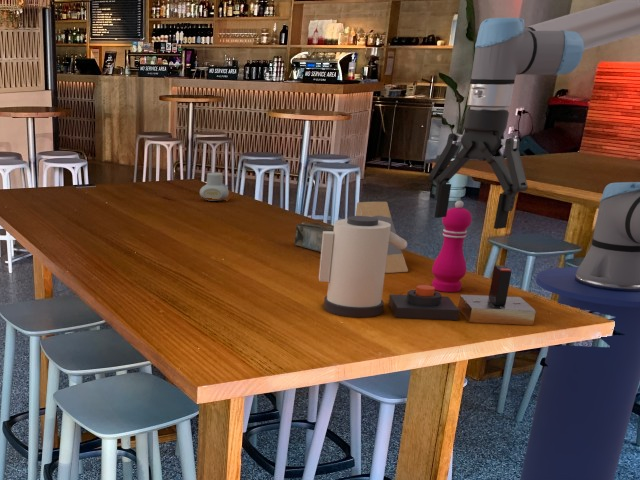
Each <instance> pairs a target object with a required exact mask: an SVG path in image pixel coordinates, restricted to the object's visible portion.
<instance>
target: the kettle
mask: <svg viewBox="0 0 640 480" xmlns="http://www.w3.org/2000/svg"><path fill="white" fill-rule="evenodd" d="M333 227H334V231H323V237H322V248H321V252H320V259H319V270H318V281H319V282H325V283H326V282H328V283H327V293H326V296H324V299H323V309H324V310H325V311H326V312H328V313H331V314H333V315H335V316H340V317H345V318H359V319H361V318H374V317H377V316H380V315H382V314H383V311H384V303H385V302H384V300H383V291H384V282H385V277H386V276H385V275H386V273H385V268H386V260H387V252H388V244H389V243H391V244H392V245H394V246H396V247H397V248H399V249H401V250H405V249H406V248H407V247H408V242H407V240H406V239H404V238H403V237H401V236H399V235H398V234H397V233H396V234H397V235H396V234H394V233H393V232H391V231H390V228H391V224H389V223H387V222H384V221H379V220H378V219H377V218H375V217H369V216H356V215H351V216H348V217H347V218H341V219H337V220H335V221H334V223H333Z"/></svg>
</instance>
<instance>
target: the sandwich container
mask: <svg viewBox="0 0 640 480" xmlns="http://www.w3.org/2000/svg"><path fill="white" fill-rule="evenodd" d="M355 210H356V211H355V216H369V217H375V218H377V219H378V220H379V221H384V222H387V223H389V224H391V228H390V231H391V232H393V233H394V234H396V235H398V234H397V231H396V228H395V225H394V222H393V218H392V215H391V211H390V208H389V203H388V201H358V202H357V203H356V209H355ZM392 273H393V274H394V273H409V269H408V267H407V262H406V260H405V256H404V254H403V251H402V249H399V248H397V247H396V246H394V245H392V244H391V243H389V244H388V252H387V260H386V268H385V274H392Z"/></svg>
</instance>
